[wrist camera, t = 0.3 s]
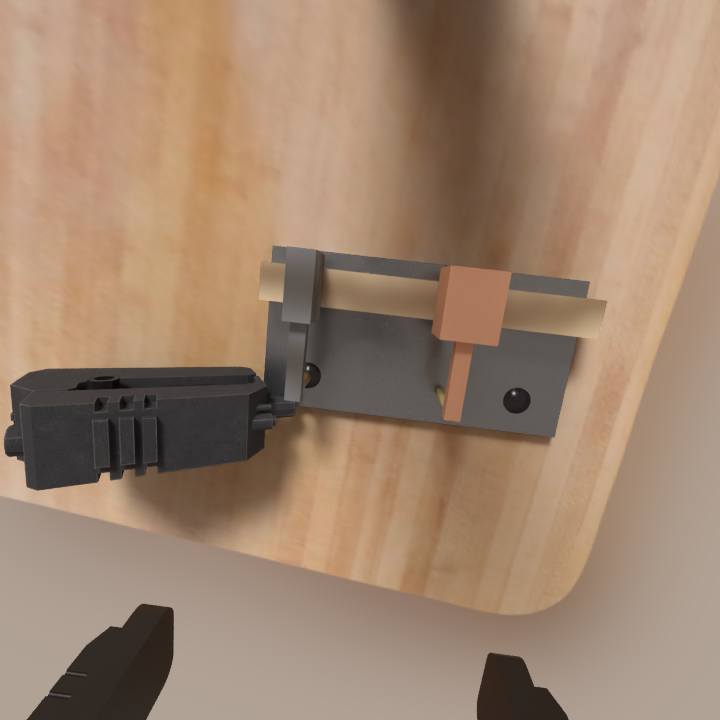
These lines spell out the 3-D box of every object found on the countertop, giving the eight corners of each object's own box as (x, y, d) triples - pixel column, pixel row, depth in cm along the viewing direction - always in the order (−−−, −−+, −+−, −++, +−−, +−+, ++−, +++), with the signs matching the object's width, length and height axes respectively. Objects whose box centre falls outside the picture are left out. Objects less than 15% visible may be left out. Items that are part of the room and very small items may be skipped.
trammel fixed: (272, 251, 32) (242, 241, 25) (588, 287, 31) (649, 287, 24) (264, 375, 34) (234, 398, 27) (560, 411, 33) (609, 444, 26)
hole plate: (276, 247, 33) (272, 245, 32) (582, 282, 32) (590, 281, 31) (266, 397, 36) (262, 401, 34) (548, 432, 35) (554, 437, 34)
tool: (47, 350, 33) (-29, 404, 20) (265, 351, 42) (311, 388, 29) (52, 416, 34) (-17, 506, 21) (263, 403, 43) (306, 461, 30)
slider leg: (435, 270, 31) (451, 265, 25) (482, 275, 31) (511, 271, 24) (416, 394, 33) (426, 421, 27) (461, 400, 33) (482, 428, 27)
